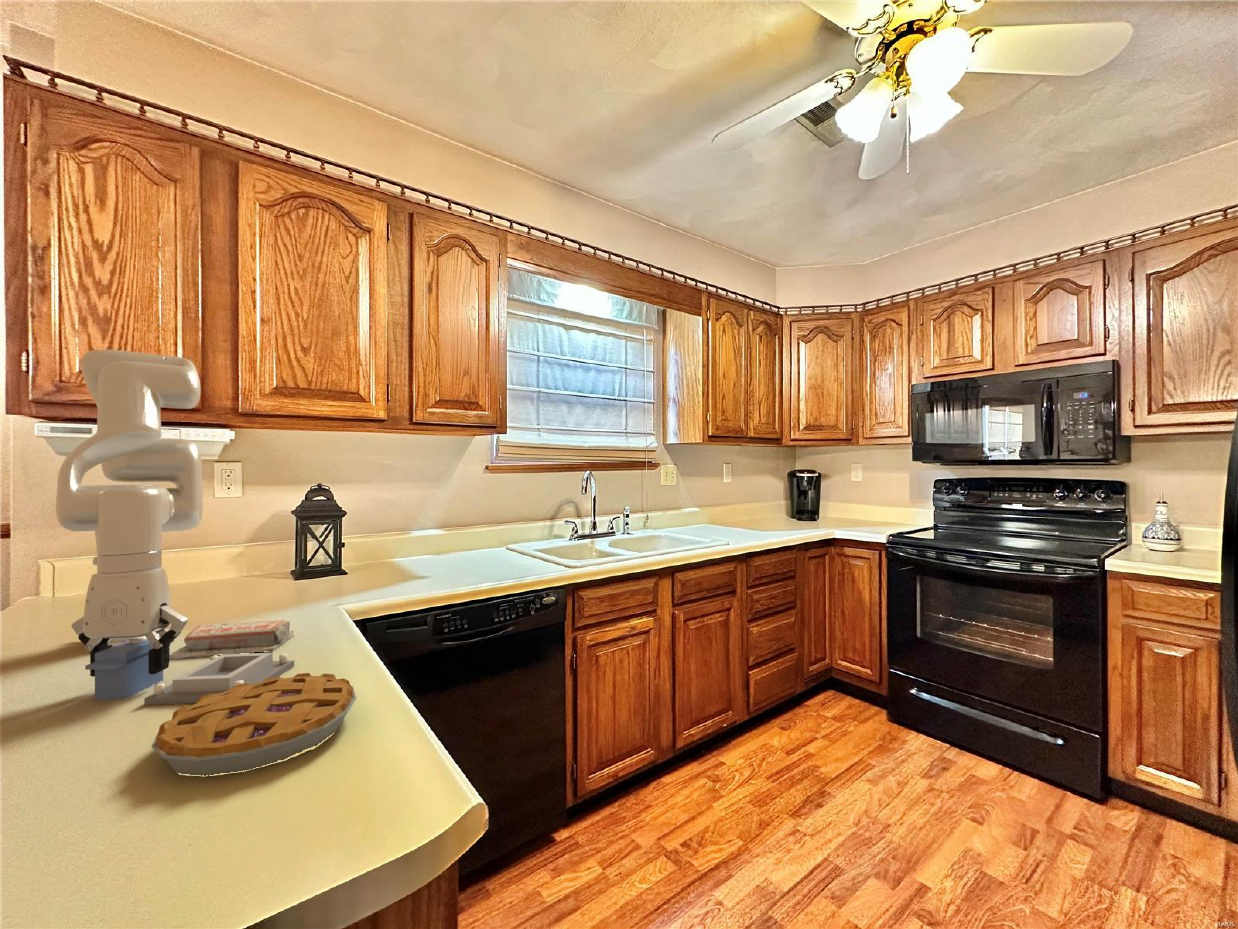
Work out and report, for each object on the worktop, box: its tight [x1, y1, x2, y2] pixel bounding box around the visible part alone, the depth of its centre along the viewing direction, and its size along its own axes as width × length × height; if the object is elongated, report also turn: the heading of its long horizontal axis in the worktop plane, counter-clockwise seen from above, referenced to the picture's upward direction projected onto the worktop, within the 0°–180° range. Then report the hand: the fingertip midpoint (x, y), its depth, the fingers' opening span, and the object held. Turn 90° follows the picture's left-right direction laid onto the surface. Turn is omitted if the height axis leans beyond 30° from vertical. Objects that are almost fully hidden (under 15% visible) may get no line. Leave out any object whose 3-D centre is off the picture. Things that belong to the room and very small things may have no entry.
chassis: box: [143, 652, 295, 706], centre depth 84 cm, size 14×14×3 cm
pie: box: [150, 672, 357, 776], centre depth 68 cm, size 22×22×5 cm
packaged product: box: [169, 620, 296, 660], centre depth 102 cm, size 18×5×10 cm
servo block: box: [84, 636, 171, 701], centre depth 82 cm, size 4×10×8 cm, turn 4°
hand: (130, 671), depth 82 cm, fingers open, 8 cm apart
